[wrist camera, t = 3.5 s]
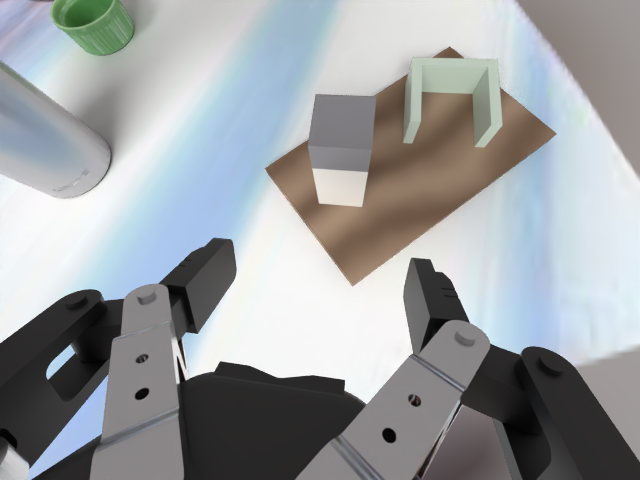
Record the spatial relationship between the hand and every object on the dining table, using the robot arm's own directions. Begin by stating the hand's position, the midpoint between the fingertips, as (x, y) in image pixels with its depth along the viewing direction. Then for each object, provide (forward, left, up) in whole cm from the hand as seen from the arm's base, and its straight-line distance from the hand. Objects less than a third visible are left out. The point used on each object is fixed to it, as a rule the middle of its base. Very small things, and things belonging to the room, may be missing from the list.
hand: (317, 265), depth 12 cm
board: (-8, +16, -16) cm, 24 cm away
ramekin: (-50, -4, -16) cm, 52 cm away
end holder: (-9, +22, -15) cm, 28 cm away
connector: (-9, +8, -15) cm, 19 cm away
